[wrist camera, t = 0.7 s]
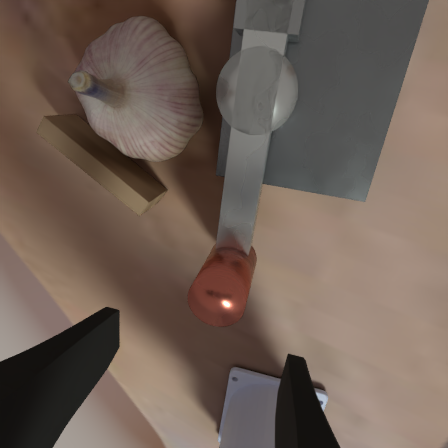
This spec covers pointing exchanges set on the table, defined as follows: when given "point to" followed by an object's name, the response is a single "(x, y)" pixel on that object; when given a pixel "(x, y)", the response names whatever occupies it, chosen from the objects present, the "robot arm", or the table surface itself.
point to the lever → (247, 149)
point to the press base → (339, 95)
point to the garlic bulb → (139, 90)
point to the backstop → (102, 161)
